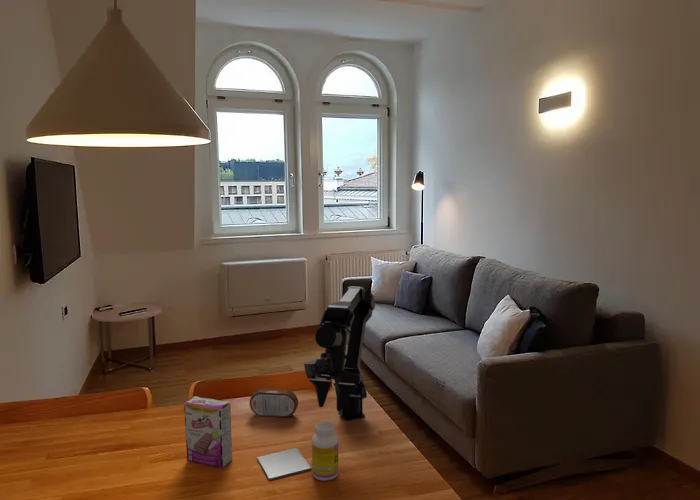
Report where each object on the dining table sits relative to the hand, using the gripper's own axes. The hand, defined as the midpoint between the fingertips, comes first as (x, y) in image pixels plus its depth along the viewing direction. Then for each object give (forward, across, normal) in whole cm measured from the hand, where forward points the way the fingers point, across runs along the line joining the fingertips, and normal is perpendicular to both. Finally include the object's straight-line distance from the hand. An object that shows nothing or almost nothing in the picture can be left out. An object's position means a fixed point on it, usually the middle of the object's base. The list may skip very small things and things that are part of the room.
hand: (329, 408), depth 143 cm
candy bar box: (+16, -16, -25) cm, 34 cm away
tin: (+6, -29, -2) cm, 30 cm away
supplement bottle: (+15, +6, -3) cm, 17 cm away
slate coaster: (+15, -4, -10) cm, 18 cm away
